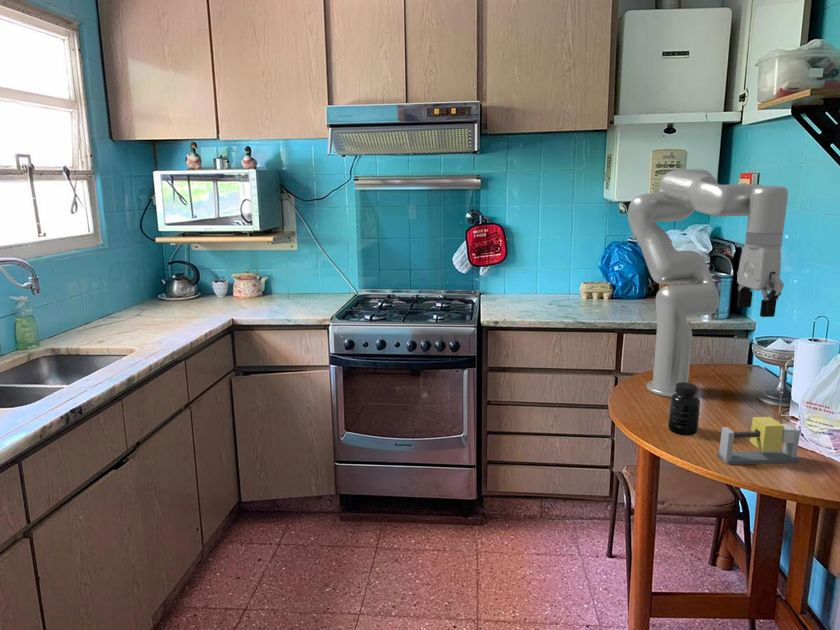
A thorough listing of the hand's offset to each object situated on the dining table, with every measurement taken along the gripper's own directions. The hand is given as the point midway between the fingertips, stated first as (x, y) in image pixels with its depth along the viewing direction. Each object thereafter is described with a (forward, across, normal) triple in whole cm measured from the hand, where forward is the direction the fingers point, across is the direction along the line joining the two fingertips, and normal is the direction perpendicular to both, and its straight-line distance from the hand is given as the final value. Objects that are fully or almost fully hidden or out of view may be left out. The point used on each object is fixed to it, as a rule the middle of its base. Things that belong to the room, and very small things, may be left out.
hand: (755, 311), depth 147 cm
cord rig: (+30, +16, -5) cm, 35 cm away
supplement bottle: (+31, 0, -15) cm, 34 cm away
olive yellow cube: (+27, +16, -4) cm, 32 cm away
